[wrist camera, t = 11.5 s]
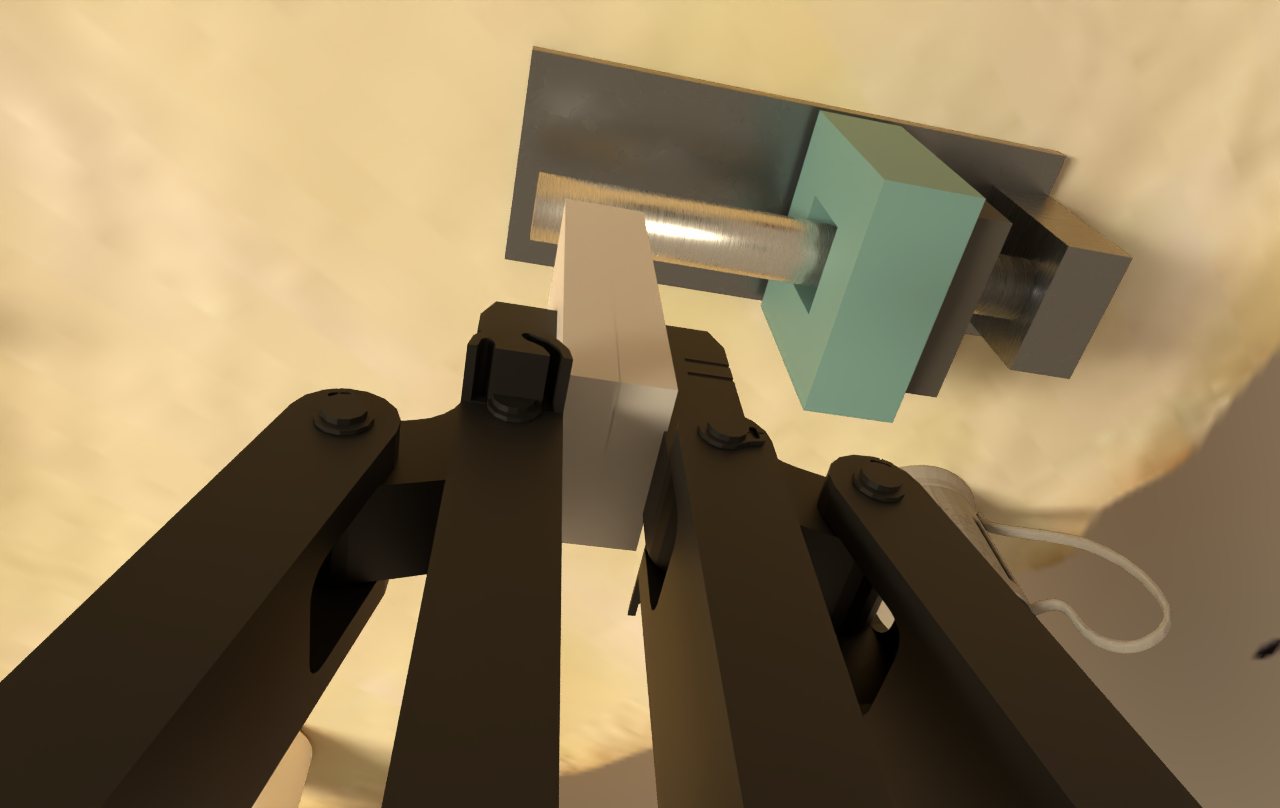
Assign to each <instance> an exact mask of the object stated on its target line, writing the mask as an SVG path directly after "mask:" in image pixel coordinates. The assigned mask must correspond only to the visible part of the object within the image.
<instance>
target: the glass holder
mask: <svg viewBox="0 0 1280 808" xmlns="http://www.w3.org/2000/svg"><path fill="white" fill-rule="evenodd" d="M900 469H902V470H904V471H906V472H907V473H908V474H909V475H911V476H912V477H913V478H914V479H915V480H916V481H917V482H919V483H920V484H921V486H922V487H923V488H924V489H925V490H926V491H927V492H928V494H929V495H930V496H931V497H932V498H933V499H934V500H935V502H936V503H937V504H938V505H939V506H940V507H941V508H942V510H943V511H944V512H945V513H946V514H947V515H948V517H949V518H950V519H951V520H952V521H953V522H954V523H955V525H956V526H957V527H958V528H959V529H960V530H961V531H962V533H963V534H964V535H965V536H966V537H967V538H968V539H969V541H970V542H971V543H972V544H973V545H974V546H975V547H976V549H977V550H978V551H979V552H980V553H981V554H982V556H983V557H984V558H985V559H986V560H987V561H988V562H989V564H990V565H991V566H992V567H993V568H994V569H995V570H996V572H997V573H998V574H999V575H1000V576H1001V577H1002V578H1003V580H1004V581H1005V582H1006V583H1007V584H1008V585H1009V586H1010V588H1011V589H1012V590H1013V591H1014V592H1015V593H1016V594H1017V596H1018V597H1019V598H1020V599H1021V600H1022V601H1023V603H1024V604H1025V605H1026V606H1027V607H1028V608H1029V609H1030V611H1031V612H1032V613H1033V614H1034V615H1035V616H1036V615H1038V614H1041V613H1044V612H1047V611H1054V610H1058V611H1062V612H1064V613H1065V614H1066V615H1067V616H1068V617H1069V618H1070V620H1071V621H1072V623H1073V624H1074V626H1075V627H1076V628H1077V629H1078V631H1079V632H1080V633H1081V634H1082V635H1083V636H1084V637H1085V638H1086V639H1088V640H1089V641H1090V642H1092V643H1093V644H1095V645H1096V646H1098V647H1101V648H1103V649H1106V650H1109V651H1113V652H1119V653H1135V652H1141V651H1144V650H1146V649H1149V648H1151V647H1153V646H1155V645H1156V644H1157V643H1159V642H1160V641H1161V640H1163V639H1164V638H1165V636H1166V635H1167V633H1168V631H1169V630H1170V628H1171V625H1172V621H1171V607H1170V605H1169V603H1168V602H1167V600H1166V598H1165V596H1164V594H1163V593H1162V591H1161V590H1160V588H1159V587H1158V586H1157V585H1156V584H1155V583H1154V582H1153V581H1152V580H1151V579H1150V577H1149V576H1148V575H1147V574H1146V573H1145V572H1144V571H1143V570H1141V569H1140V568H1139V567H1138V566H1136V565H1135V564H1134V563H1132V562H1131V561H1129V560H1128V559H1127V558H1126V557H1124V556H1122V555H1120V554H1119V553H1117V552H1115V551H1113V550H1111V549H1109V548H1107V547H1106V546H1103V545H1101V544H1099V543H1097V542H1094V541H1092V540H1090V539H1087V538H1084V537H1079V536H1075V535H1070V534H1064V533H1058V532H1052V531H1046V530H1040V529H1032V528H1024V527H1016V526H1009V525H1003V524H998V523H993V522H989V521H987V520H986V519H985V518H984V516H983V515H982V514H981V513H979V512H978V514H977V515H976V513H975V503H974V498H973V495H972V493H971V491H970V489H969V487H968V486H967V485H966V483H965V482H964V481H963V480H962V479H961V478H959V477H958V476H957V475H955V474H954V473H952V472H950V471H947V470H945V469H942V468H938V467H934V466H925V465H917V466H906V467H901V468H900ZM986 530H987V531H988V532H991V533H995V534H1000V535H1004V536H1010V537H1017V538H1024V539H1031V540H1040V541H1047V542H1052V543H1058V544H1063V545H1068V546H1072V547H1076V548H1080V549H1084V550H1087V551H1089V552H1092V553H1094V554H1097V555H1099V556H1101V557H1103V558H1105V559H1107V560H1109V561H1111V562H1113V563H1115V564H1117V565H1119V566H1121V567H1122V568H1124V569H1125V570H1126V571H1128V572H1129V573H1130V574H1132V575H1133V576H1134V577H1136V578H1137V579H1138V580H1140V581H1141V582H1142V584H1144V586H1145V587H1146V588H1147V589H1148V590H1149V591H1150V592H1151V593H1152V594H1153V595H1154V596H1155V598H1156V599H1157V601H1158V603H1159V604H1160V606H1161V608H1162V610H1163V615H1164V619H1163V621H1162V622H1161V624H1160V626H1159V627H1158V628H1157V629H1156V630H1154V631H1153V632H1152V633H1150V634H1149V635H1147V636H1145V637H1142V638H1140V639H1138V640H1130V641H1121V640H1114V639H1110V638H1107V637H1104V636H1102V635H1099V634H1097V633H1096V632H1094V631H1093V630H1091V629H1090V628H1089V627H1088V626H1087V625H1086V624H1084V622H1083V621H1082V620H1081V619H1080V617H1079V616H1078V615H1077V613H1076V612H1075V611H1074V610H1073V609H1072V607H1071V606H1070V605H1069V604H1067V603H1065V602H1064V601H1062V600H1058V599H1047V600H1042V601H1039V602H1036V603H1033V604H1031V605H1030V603H1029V601H1028V600H1027V598H1026V596H1025V595H1024V593H1023V592H1022V590H1021V588H1020V586H1019V585H1018V583H1017V581H1016V580H1015V578H1014V576H1013V575H1012V573H1011V571H1010V570H1009V568H1008V567H1007V565H1006V563H1005V562H1004V560H1003V558H1002V557H1001V555H1000V553H999V552H998V550H997V548H996V547H995V545H994V543H993V542H992V540H991V538H990V537H989V535H988V533H987V532H986ZM876 614H877V615H878V617H879V618H880V620H881V621H882V623H883V624H884V625H885V626H886V627H887V628H888V629H889V628H890V627H891V626H892V624H893V622H894V620H895V619H894V617H893V615H892V613H891V612H890V610H889V609H888V607H887V606H886V604H885V603H884V602H883V601H882V603H881V605H880V607H879V609H878V611H877V613H876Z"/></svg>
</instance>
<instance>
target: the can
mask: <svg viewBox="0 0 1280 808" xmlns="http://www.w3.org/2000/svg"><path fill="white" fill-rule="evenodd" d="M312 754H313V751H312V746H311V744H310V742H309V740H308V739H307V737H306V736H305V734H304V733H303V732H302V731H301V730H300V731H299V733H298V734H297V736H296V737H295V739H294V741H293V742H292V744H291V745H290V747H289V749H288V750H287V752H286V753H285V755H284V757H283V758H282V760H281V761H280V763H279V765H278V766H277V768H276V770H275V771H274V773H273V774H272V776H271V778H270V779H269V781H268V782H267V784H266V786H265V787H264V789H263V790H262V792H261V794H260V795H259V797H258V799H257V800H256V802H255V803H254V805H253V807H252V808H298V806H299V803H300V799H301V796H302V792H303V789H304V785H305V782H306V778H307V774H308V771H309V767H310V763H311V759H312Z"/></svg>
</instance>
